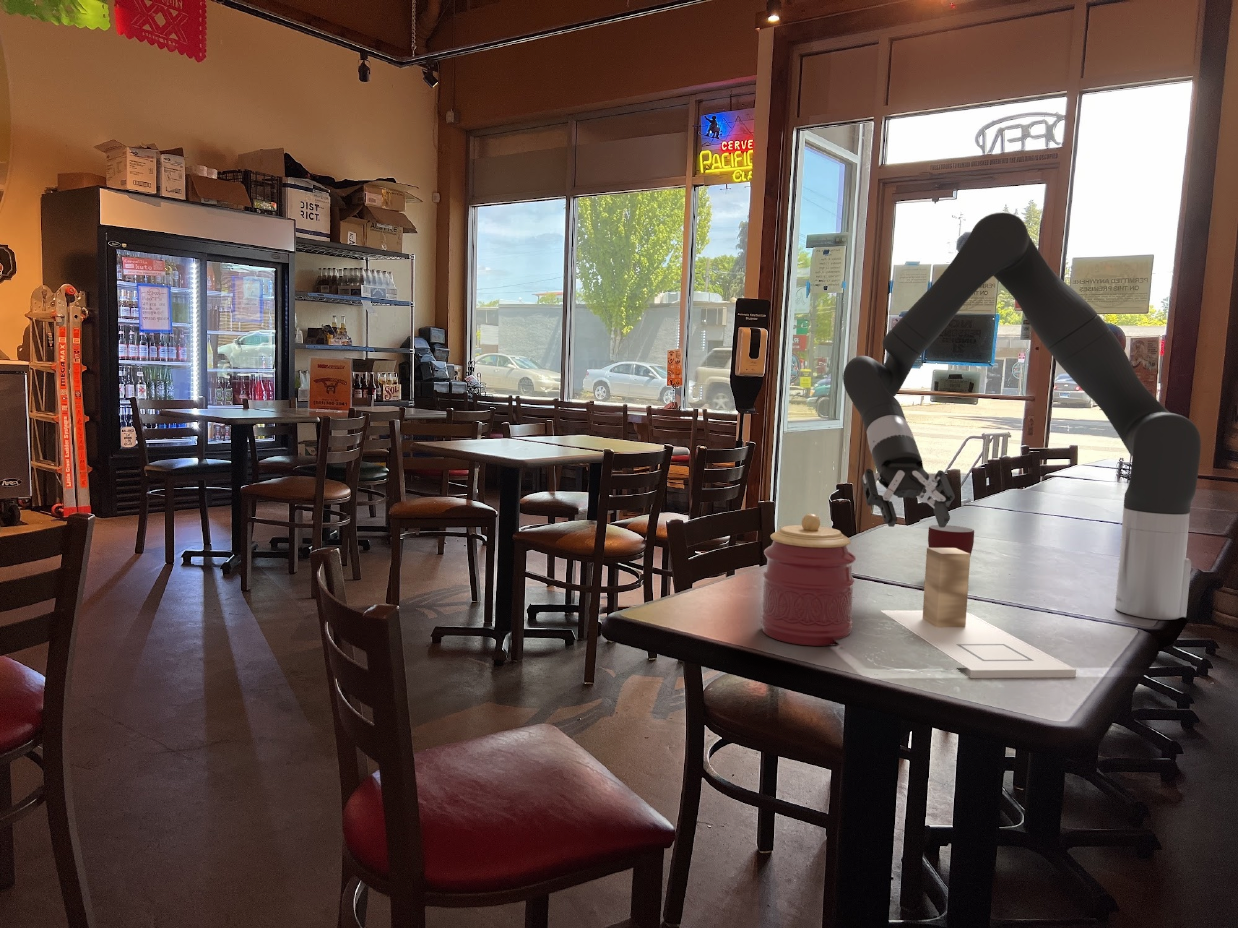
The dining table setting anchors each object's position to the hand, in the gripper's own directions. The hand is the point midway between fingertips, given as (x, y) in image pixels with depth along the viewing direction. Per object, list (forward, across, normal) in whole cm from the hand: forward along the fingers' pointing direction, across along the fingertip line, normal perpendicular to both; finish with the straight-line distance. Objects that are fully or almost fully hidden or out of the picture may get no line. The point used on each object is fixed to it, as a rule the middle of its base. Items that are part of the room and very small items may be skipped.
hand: (919, 524), depth 136 cm
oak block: (+16, 0, +2) cm, 17 cm away
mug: (-6, +18, +27) cm, 33 cm away
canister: (+19, -22, +2) cm, 29 cm away
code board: (+22, 0, -2) cm, 22 cm away
